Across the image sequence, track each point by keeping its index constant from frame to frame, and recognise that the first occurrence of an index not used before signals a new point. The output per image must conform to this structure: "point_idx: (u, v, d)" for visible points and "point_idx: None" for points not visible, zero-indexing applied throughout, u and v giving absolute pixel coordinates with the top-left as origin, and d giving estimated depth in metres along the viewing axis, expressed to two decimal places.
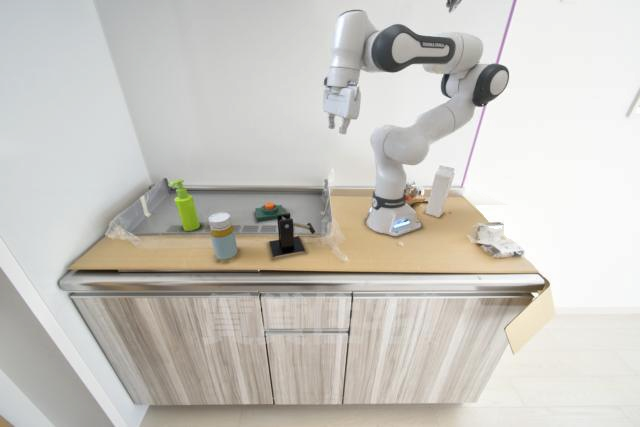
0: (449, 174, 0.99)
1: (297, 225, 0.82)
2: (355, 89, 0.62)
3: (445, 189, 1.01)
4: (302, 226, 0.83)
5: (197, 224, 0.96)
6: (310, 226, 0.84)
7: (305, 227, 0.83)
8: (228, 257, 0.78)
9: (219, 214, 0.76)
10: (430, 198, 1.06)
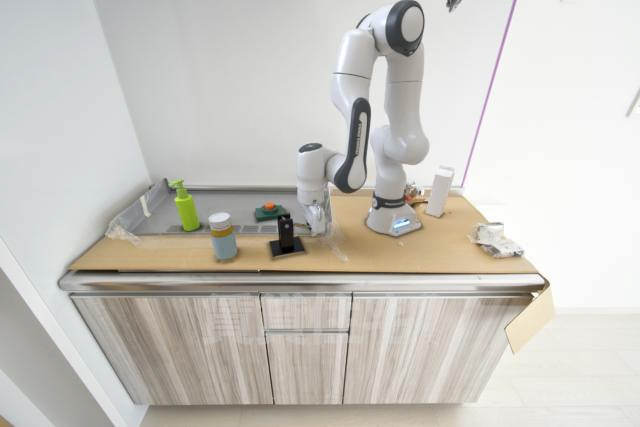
0: (449, 174, 0.99)
1: (297, 225, 0.82)
2: (318, 213, 0.72)
3: (445, 189, 1.01)
4: (302, 226, 0.83)
5: (197, 224, 0.96)
6: (309, 226, 0.84)
7: (305, 227, 0.83)
8: (228, 257, 0.78)
9: (219, 214, 0.76)
10: (430, 198, 1.06)
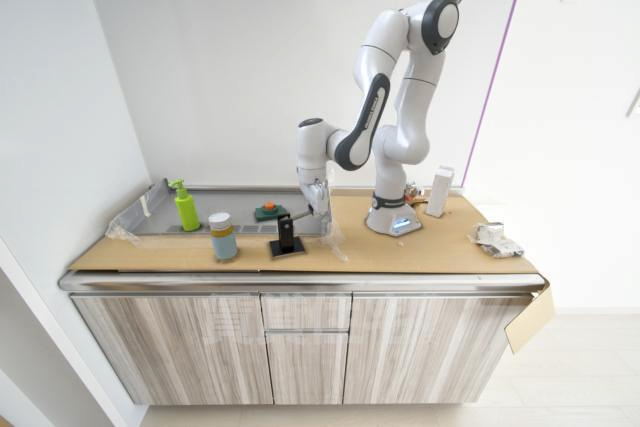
0: (449, 174, 0.99)
1: (297, 217, 0.81)
2: (321, 191, 0.68)
3: (445, 189, 1.01)
4: (303, 215, 0.81)
5: (197, 224, 0.96)
6: (310, 210, 0.81)
7: (306, 214, 0.81)
8: (228, 257, 0.78)
9: (219, 214, 0.76)
10: (430, 198, 1.06)
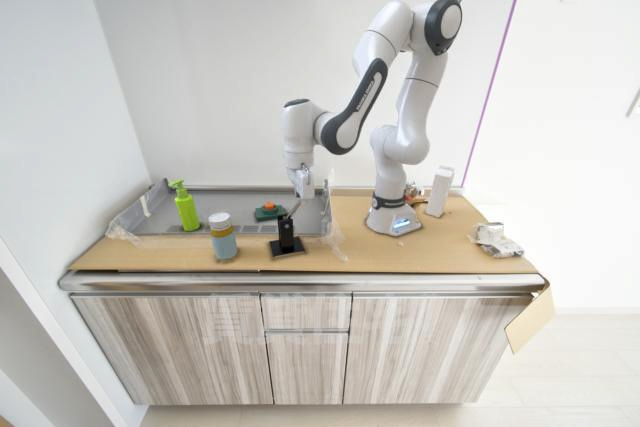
0: (449, 174, 0.99)
1: (293, 212, 0.79)
2: (306, 175, 0.65)
3: (445, 189, 1.01)
4: (296, 207, 0.79)
5: (197, 224, 0.96)
6: None
7: (298, 204, 0.78)
8: (228, 257, 0.78)
9: (219, 214, 0.76)
10: (430, 198, 1.06)
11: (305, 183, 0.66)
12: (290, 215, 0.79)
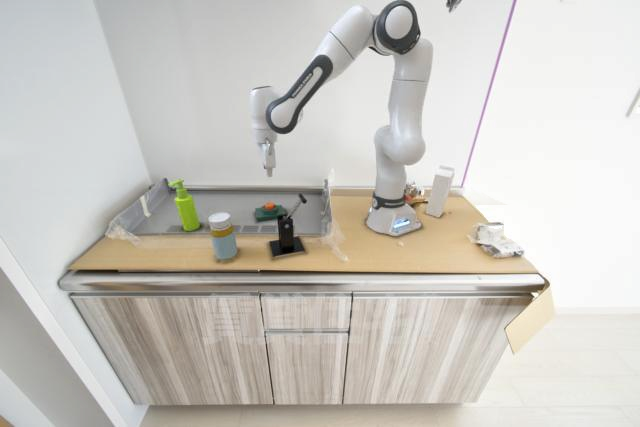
0: (449, 174, 0.99)
1: (293, 212, 0.79)
2: (268, 147, 0.81)
3: (445, 189, 1.01)
4: (296, 207, 0.79)
5: (197, 224, 0.96)
6: (300, 199, 0.78)
7: (298, 204, 0.78)
8: (228, 257, 0.78)
9: (219, 214, 0.76)
10: (430, 198, 1.06)
11: (267, 153, 0.81)
12: (290, 215, 0.79)
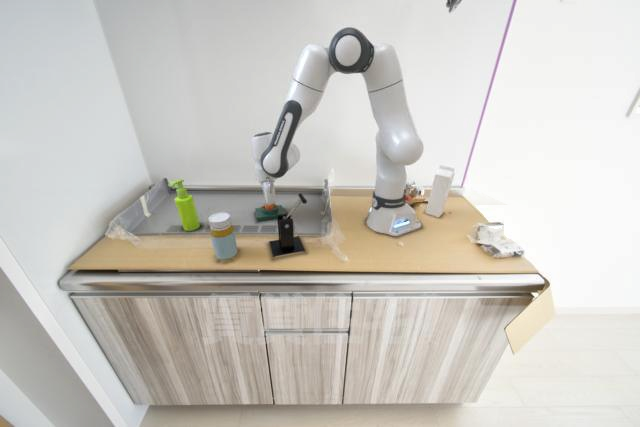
0: (449, 174, 0.99)
1: (293, 212, 0.79)
2: (269, 187, 0.90)
3: (445, 189, 1.01)
4: (296, 207, 0.79)
5: (197, 224, 0.96)
6: (300, 199, 0.78)
7: (298, 204, 0.78)
8: (228, 257, 0.78)
9: (219, 214, 0.76)
10: (430, 198, 1.06)
11: (268, 192, 0.91)
12: (290, 215, 0.79)
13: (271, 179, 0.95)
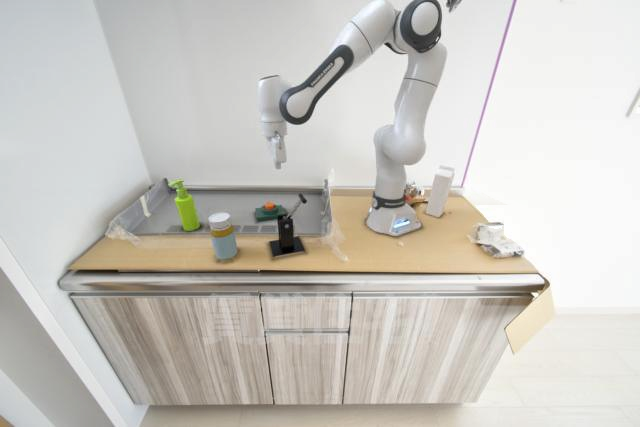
0: (449, 174, 0.99)
1: (293, 212, 0.79)
2: (278, 140, 0.76)
3: (445, 189, 1.01)
4: (296, 207, 0.79)
5: (197, 224, 0.96)
6: (300, 199, 0.78)
7: (298, 204, 0.78)
8: (228, 257, 0.78)
9: (219, 214, 0.76)
10: (430, 198, 1.06)
11: (277, 147, 0.77)
12: (290, 215, 0.79)
13: (280, 134, 0.80)
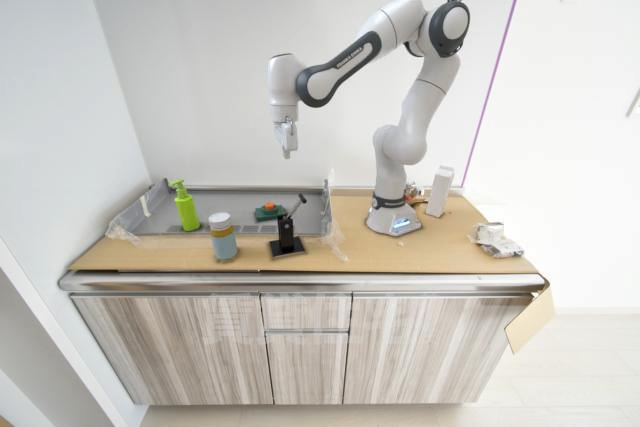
0: (449, 174, 0.99)
1: (293, 212, 0.79)
2: (290, 125, 0.69)
3: (445, 189, 1.01)
4: (296, 207, 0.79)
5: (197, 224, 0.96)
6: (300, 199, 0.78)
7: (298, 204, 0.78)
8: (228, 257, 0.78)
9: (219, 214, 0.76)
10: (430, 198, 1.06)
11: (289, 133, 0.70)
12: (290, 215, 0.79)
13: (291, 119, 0.74)
